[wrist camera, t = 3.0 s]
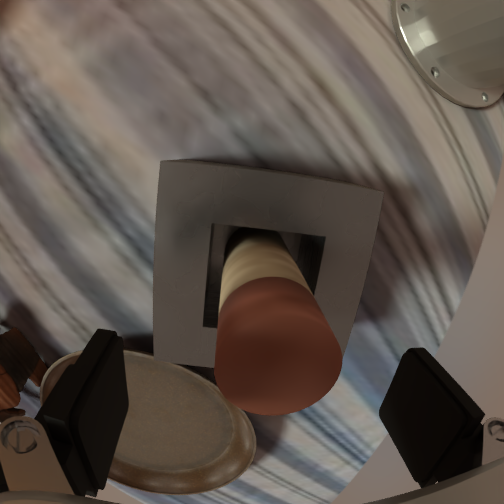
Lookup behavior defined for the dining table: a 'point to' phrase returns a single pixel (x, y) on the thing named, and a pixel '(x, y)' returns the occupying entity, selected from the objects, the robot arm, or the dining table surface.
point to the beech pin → (270, 330)
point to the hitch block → (254, 216)
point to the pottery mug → (17, 371)
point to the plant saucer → (173, 428)
